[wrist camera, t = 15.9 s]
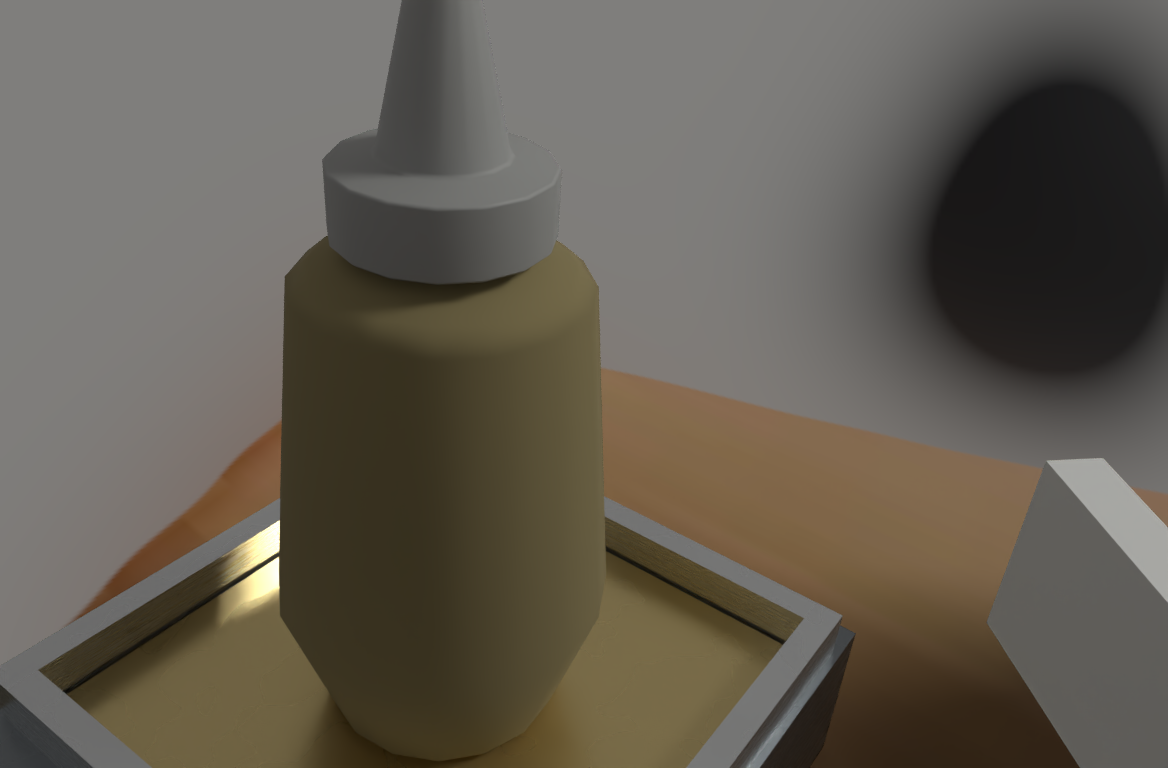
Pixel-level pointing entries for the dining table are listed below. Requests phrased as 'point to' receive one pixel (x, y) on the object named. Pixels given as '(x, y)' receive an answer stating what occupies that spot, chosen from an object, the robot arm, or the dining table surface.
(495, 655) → the squeeze bottle
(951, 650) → the dining table surface
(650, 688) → the square box
